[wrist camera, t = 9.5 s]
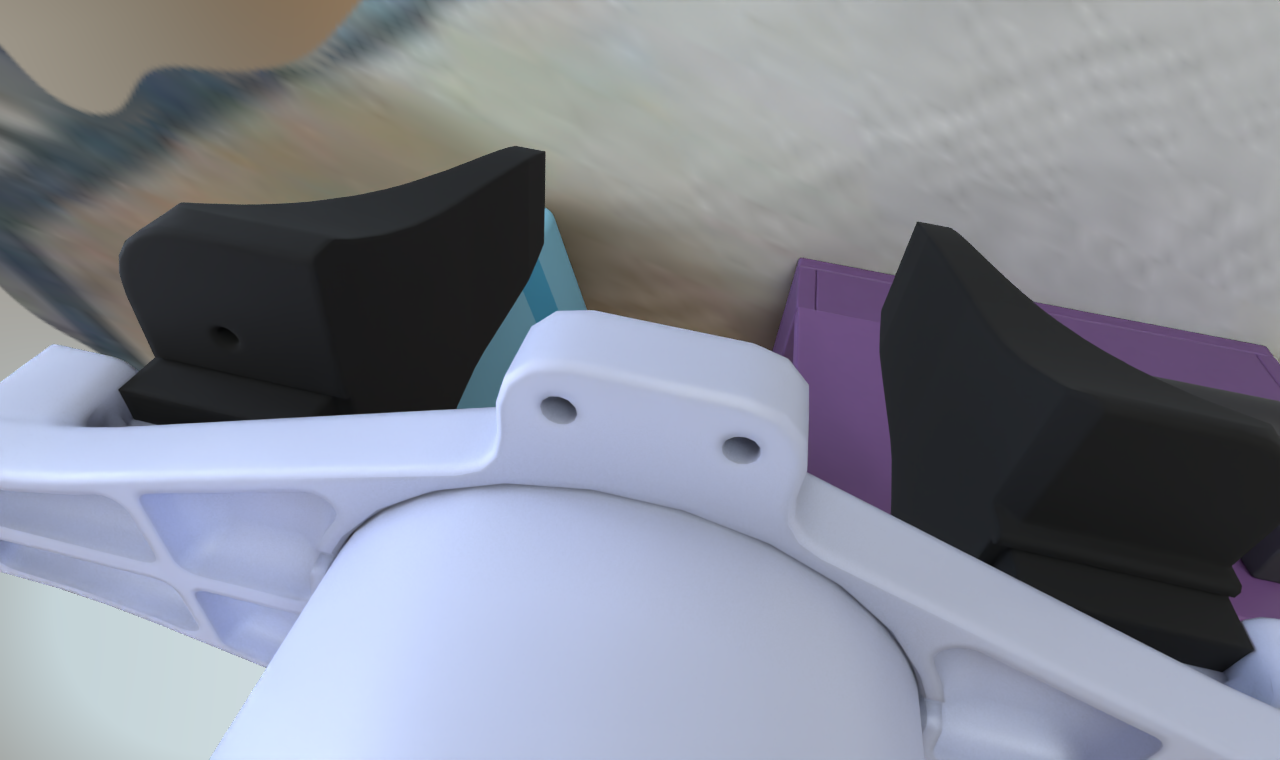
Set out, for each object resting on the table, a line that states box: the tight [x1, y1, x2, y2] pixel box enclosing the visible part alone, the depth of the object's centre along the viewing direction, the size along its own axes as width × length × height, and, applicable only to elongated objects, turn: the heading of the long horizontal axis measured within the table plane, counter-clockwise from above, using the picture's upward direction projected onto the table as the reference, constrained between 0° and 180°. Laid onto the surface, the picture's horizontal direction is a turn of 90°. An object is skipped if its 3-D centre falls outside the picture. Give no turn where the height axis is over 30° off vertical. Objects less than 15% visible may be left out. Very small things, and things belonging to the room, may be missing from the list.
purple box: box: [772, 258, 1280, 401], centre depth 25 cm, size 8×15×3 cm, turn 84°
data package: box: [457, 208, 587, 409], centre depth 23 cm, size 12×4×12 cm, turn 105°
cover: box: [793, 307, 1280, 622], centre depth 16 cm, size 9×15×4 cm
